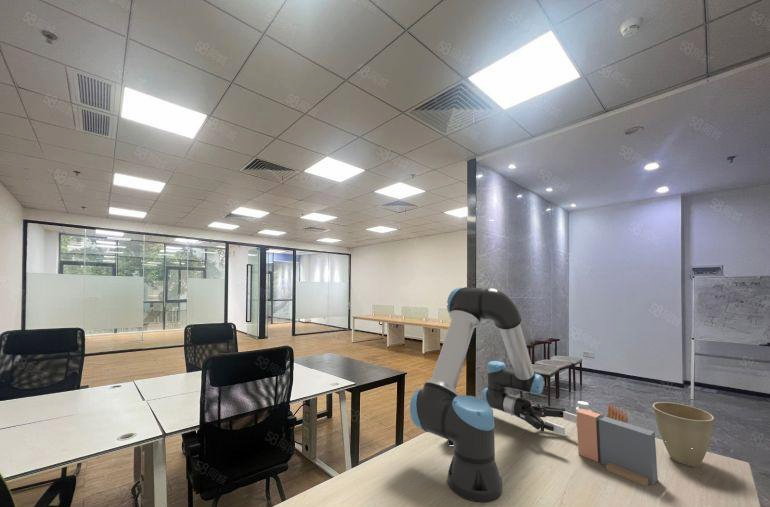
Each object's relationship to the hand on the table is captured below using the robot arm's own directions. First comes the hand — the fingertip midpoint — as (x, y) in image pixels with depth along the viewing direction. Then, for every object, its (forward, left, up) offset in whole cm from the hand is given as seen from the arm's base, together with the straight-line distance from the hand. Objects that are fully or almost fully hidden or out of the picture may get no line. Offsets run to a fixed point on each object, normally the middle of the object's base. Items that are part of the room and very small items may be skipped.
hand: (573, 426), depth 114 cm
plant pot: (+26, +20, -8) cm, 34 cm away
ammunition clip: (+8, +19, -8) cm, 22 cm away
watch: (-30, -28, -8) cm, 42 cm away
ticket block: (+16, -2, -8) cm, 17 cm away
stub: (+5, -1, -7) cm, 9 cm away
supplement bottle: (-4, +21, -8) cm, 23 cm away
